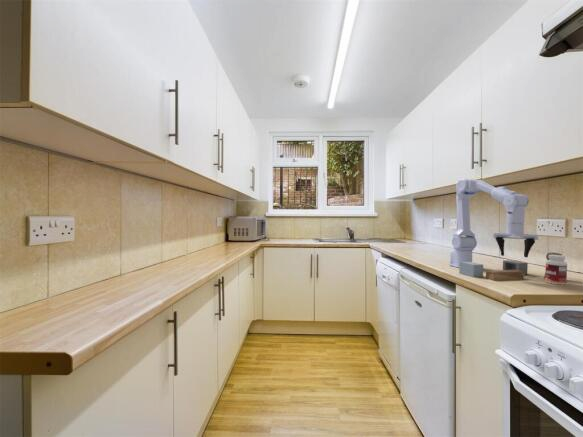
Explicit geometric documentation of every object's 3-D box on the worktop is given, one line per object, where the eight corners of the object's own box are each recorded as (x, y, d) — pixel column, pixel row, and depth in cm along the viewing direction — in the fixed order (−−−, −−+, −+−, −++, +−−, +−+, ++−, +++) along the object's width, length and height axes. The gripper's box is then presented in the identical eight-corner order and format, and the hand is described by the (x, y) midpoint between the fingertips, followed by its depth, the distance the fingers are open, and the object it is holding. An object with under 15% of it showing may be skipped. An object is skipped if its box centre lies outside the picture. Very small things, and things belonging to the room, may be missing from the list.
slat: (485, 279, 118) (486, 271, 118) (515, 277, 122) (516, 269, 121) (492, 281, 115) (493, 272, 115) (523, 279, 118) (523, 271, 118)
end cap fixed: (502, 271, 133) (502, 260, 133) (511, 271, 134) (511, 260, 134) (518, 274, 126) (518, 263, 126) (527, 274, 127) (527, 262, 127)
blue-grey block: (459, 273, 127) (459, 261, 127) (468, 272, 129) (468, 261, 128) (473, 277, 120) (473, 264, 120) (482, 276, 121) (483, 264, 121)
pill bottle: (540, 281, 114) (541, 254, 114) (556, 281, 114) (557, 254, 114) (554, 285, 108) (555, 256, 108) (571, 285, 108) (572, 256, 108)
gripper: (495, 223, 116) (494, 256, 116) (541, 224, 109) (539, 259, 109) (492, 222, 122) (491, 253, 122) (535, 223, 115) (534, 256, 115)
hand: (513, 256), depth 116 cm, fingers open, 7 cm apart
